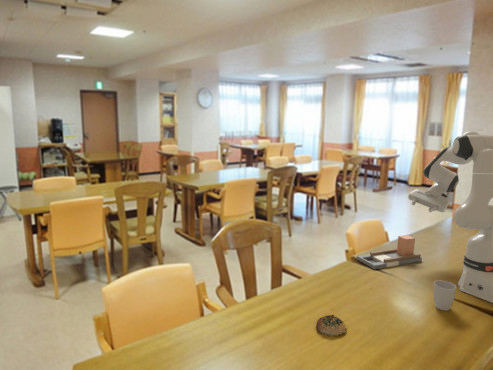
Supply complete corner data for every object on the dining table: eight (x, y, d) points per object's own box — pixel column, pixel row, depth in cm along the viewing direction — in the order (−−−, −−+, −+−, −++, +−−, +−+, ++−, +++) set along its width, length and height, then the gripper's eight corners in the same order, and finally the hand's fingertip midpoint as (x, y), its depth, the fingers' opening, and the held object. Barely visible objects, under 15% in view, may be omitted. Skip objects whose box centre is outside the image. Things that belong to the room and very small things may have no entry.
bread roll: (324, 316, 143) (326, 305, 141) (350, 330, 136) (353, 319, 135) (309, 330, 134) (311, 318, 133) (337, 345, 128) (339, 333, 126)
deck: (421, 261, 200) (422, 255, 199) (374, 269, 188) (374, 262, 188) (402, 252, 213) (402, 246, 212) (356, 259, 201) (357, 253, 201)
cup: (457, 312, 147) (460, 289, 145) (437, 312, 147) (439, 289, 145) (447, 302, 155) (449, 280, 153) (427, 302, 155) (430, 280, 153)
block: (413, 255, 203) (415, 238, 201) (404, 256, 200) (406, 239, 199) (405, 251, 208) (406, 234, 206) (396, 253, 206) (398, 236, 204)
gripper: (416, 184, 213) (403, 195, 206) (452, 198, 200) (441, 210, 193) (414, 193, 217) (402, 204, 209) (450, 207, 203) (438, 219, 196)
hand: (421, 207), depth 201 cm, fingers open, 8 cm apart
